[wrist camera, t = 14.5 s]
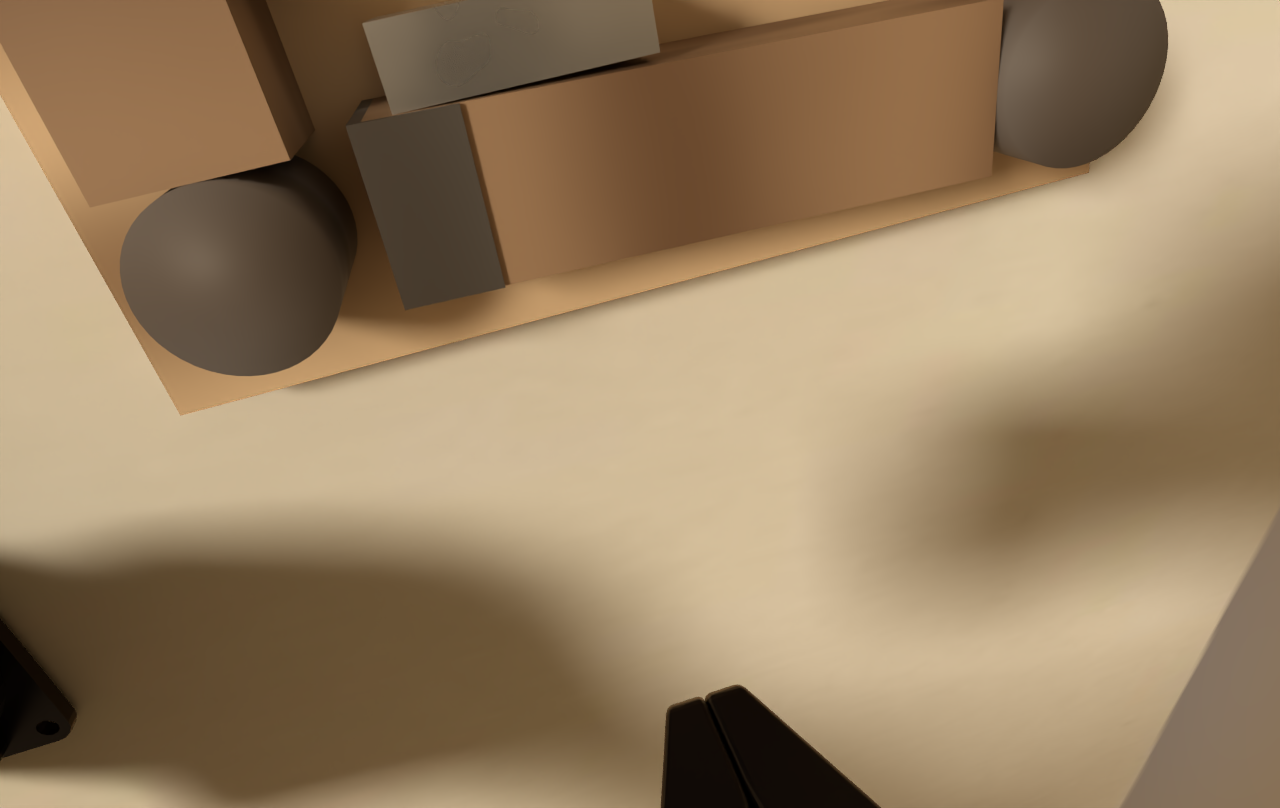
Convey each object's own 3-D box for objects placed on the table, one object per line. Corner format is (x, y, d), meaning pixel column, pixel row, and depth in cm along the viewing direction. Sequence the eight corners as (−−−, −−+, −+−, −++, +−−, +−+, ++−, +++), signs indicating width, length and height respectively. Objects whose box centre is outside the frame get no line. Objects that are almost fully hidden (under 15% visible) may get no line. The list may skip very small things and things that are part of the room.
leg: (1054, -37, 15) (1183, -43, 12) (1039, 124, 17) (1151, 150, 14) (359, 94, 13) (342, 119, 11) (411, 261, 15) (406, 318, 12)
